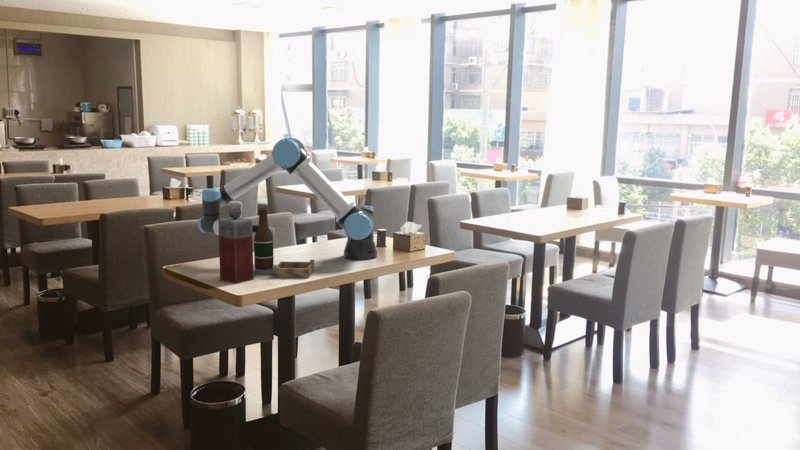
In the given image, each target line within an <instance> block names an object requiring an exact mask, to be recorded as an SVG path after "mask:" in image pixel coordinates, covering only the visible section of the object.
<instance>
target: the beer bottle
mask: <svg viewBox="0 0 800 450" xmlns="http://www.w3.org/2000/svg"><path fill="white" fill-rule="evenodd" d="M258 225H259V226H258V230H257V231H256V232H254V233H255V234H254V235H253V263H254V264H255V268H256V269H271V268H273V265H274V236H273V234H272V232H271V231H270V229H269V227H270V226H269V221H268V208H267V207H260V208H258Z"/></svg>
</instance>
